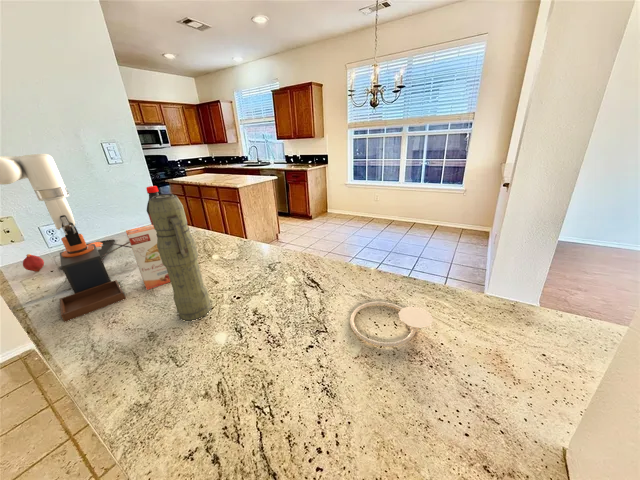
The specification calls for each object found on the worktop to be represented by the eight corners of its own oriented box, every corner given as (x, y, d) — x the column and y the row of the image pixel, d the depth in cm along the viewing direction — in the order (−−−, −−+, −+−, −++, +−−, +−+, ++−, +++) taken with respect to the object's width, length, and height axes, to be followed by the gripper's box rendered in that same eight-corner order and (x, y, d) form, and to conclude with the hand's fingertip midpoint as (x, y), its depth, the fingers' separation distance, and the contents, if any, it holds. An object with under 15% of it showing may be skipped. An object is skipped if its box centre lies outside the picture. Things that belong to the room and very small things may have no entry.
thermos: (200, 297, 85) (170, 190, 71) (220, 311, 78) (191, 194, 64) (172, 312, 79) (134, 197, 65) (190, 328, 72) (152, 203, 58)
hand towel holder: (358, 287, 78) (433, 299, 71) (358, 300, 80) (431, 313, 72) (341, 324, 63) (433, 345, 56) (342, 338, 65) (431, 360, 58)
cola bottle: (185, 250, 121) (167, 184, 109) (167, 257, 114) (146, 189, 102) (174, 247, 125) (155, 183, 113) (156, 254, 118) (135, 187, 106)
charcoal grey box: (76, 297, 88) (61, 266, 84) (73, 281, 99) (59, 252, 95) (112, 285, 95) (100, 255, 90) (105, 271, 106) (94, 243, 101)
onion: (32, 270, 110) (22, 252, 107) (49, 266, 112) (41, 249, 109) (24, 276, 105) (14, 258, 102) (43, 272, 107) (34, 255, 104)
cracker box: (147, 291, 90) (126, 234, 82) (144, 284, 94) (124, 229, 86) (190, 276, 98) (175, 223, 90) (185, 270, 102) (171, 219, 94)
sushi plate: (82, 248, 129) (79, 241, 128) (152, 235, 141) (150, 229, 139) (58, 274, 105) (53, 265, 104) (144, 256, 116) (141, 249, 115)
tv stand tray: (64, 322, 77) (60, 315, 76) (62, 305, 85) (59, 298, 84) (125, 298, 86) (123, 292, 85) (118, 285, 95) (116, 279, 94)
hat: (62, 259, 89) (54, 243, 86) (61, 252, 95) (54, 237, 92) (95, 250, 94) (89, 235, 92) (92, 244, 100) (86, 230, 98)
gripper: (37, 192, 90) (60, 238, 96) (36, 199, 78) (62, 251, 85) (66, 188, 94) (86, 232, 101) (69, 194, 83) (91, 243, 90)
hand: (75, 241), depth 93 cm, fingers open, 9 cm apart
